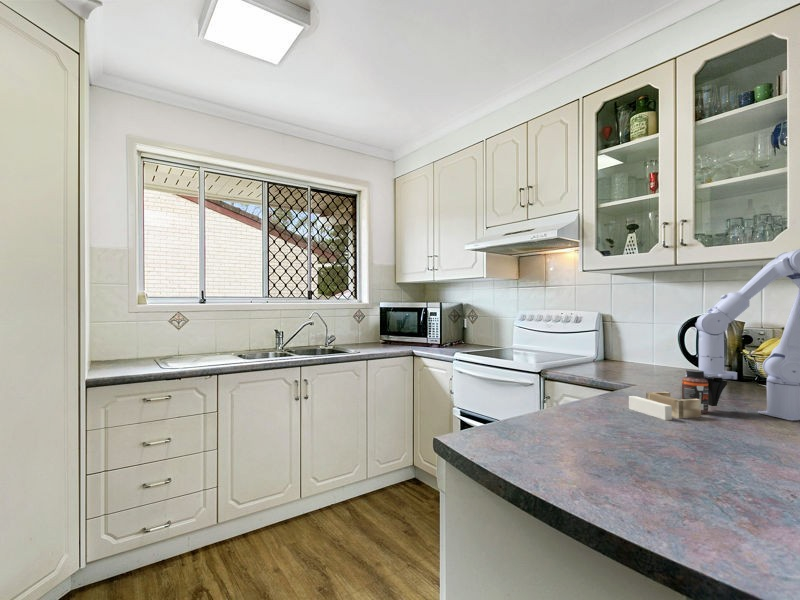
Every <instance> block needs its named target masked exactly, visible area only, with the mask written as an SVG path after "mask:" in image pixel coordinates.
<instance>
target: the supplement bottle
mask: <svg viewBox="0 0 800 600" xmlns="http://www.w3.org/2000/svg"><path fill="white" fill-rule="evenodd" d="M686 375H687V376H686ZM681 399H700V400H701V415H702V414H707V413H709V406H710V405H708V381H707V380H706V379H705V378H704V371H701V370H699V369H686V371H685V376H684V377H683V378H682V379H681Z"/></svg>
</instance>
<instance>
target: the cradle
mask: <svg viewBox="0 0 800 600" xmlns="http://www.w3.org/2000/svg"><path fill="white" fill-rule="evenodd" d="M645 399H648V400H652V401H655V402H659V403H663V404H667V405H670V406H672V418H676V419H689V418H690V419H693V418H701V417H702V414H701V400H700V399H682V398H681V399H679V398H675V397H671V392H668V391H655V392H645Z"/></svg>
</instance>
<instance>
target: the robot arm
mask: <svg viewBox="0 0 800 600" xmlns="http://www.w3.org/2000/svg"><path fill="white" fill-rule="evenodd" d="M783 277H786V278H787V279H789V280H790V281H792V282H793V284H794V285H796V286H797V287H798V291H797V294H796V297H795V299H794V302H793V305H792V308H791V310H790V313H789V316H788V318H787V321H786V324H785V326H784V329H783V331H782V335H781V337H780V341H779V343H778V345H776V346H775V347H774V348H772V350H771V352H770V354H769V356H767V358H766V359H764V361H763V362H762V367H761V368H762V370H763V372H764V373H765V375H767V378H766V410H758V412H757V413H758V414H762V415H766V416H769V417H775V418H779V419H783V420H787V421H793V422H794V421H800V248H799V249H796V250H792V251H786V252H782V253H780V254H778V255H777V256H776V257H775V258H773V259H772V260H770V261H769V262H767V264H765V265H764V266H763V267H762V269H760V270H759V271H758V272H757V273H756V274H755V275H754V276H753V277H752V278H751V279H750V280H748V281H747V283H746V284H745V285H744V286H742V287H741V288H740V289H739V290H738V291H736V292H733V291H732V292H728V293H727V294H722V295H721V296H720V297H719V298H720V300H719V301H718V302H717V303H716V304H715V305H713V306H712V307H708V309H707V308H706V312H707V313H704V314H702V315H699V316H698V317H697V320H696V322H695V323H694V325H695V328H696V330H697V331H698V370H701V371H704V378H705V379H706V380H707V381H708V406H711V407H718V404H719V400H720V397H721V394H722V392H723V390H724V389H725V388H726V386H727V385H728V381H727V380H738V372H736V371H732V370H731V371H727V370H725V334H724V333H725V332H726V331H727V330H728V328H729V324H730V323H732V322H734V321H735V319H737V318H738V317H739V316H740V315H741V314H742V313H744V312H745V311H746V310H747V309H748V308H749V307H750V300H751V299H752V298H753V297H754V296H756V295H757V294H758V293H760V292H762V290H764V289H765V288H766V287H768V285H770V284H771V283H772V282H774V281H775V280H776V279H780V278H783ZM686 376H687V375H686V374H685V377H686Z"/></svg>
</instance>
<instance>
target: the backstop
mask: <svg viewBox="0 0 800 600" xmlns="http://www.w3.org/2000/svg"><path fill="white" fill-rule="evenodd" d="M628 409H629V410H632V411H635V412H639V413H641V414H644V415H647V416H651V417H654V418H658V419H660V420H663V421H672V420H673V419H672V418H673V416H672V406H670V405H667V404H663V403H659V402H655V401H652V400H648V399H646V398H644V397H640V396H636V395H629V396H628Z"/></svg>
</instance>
